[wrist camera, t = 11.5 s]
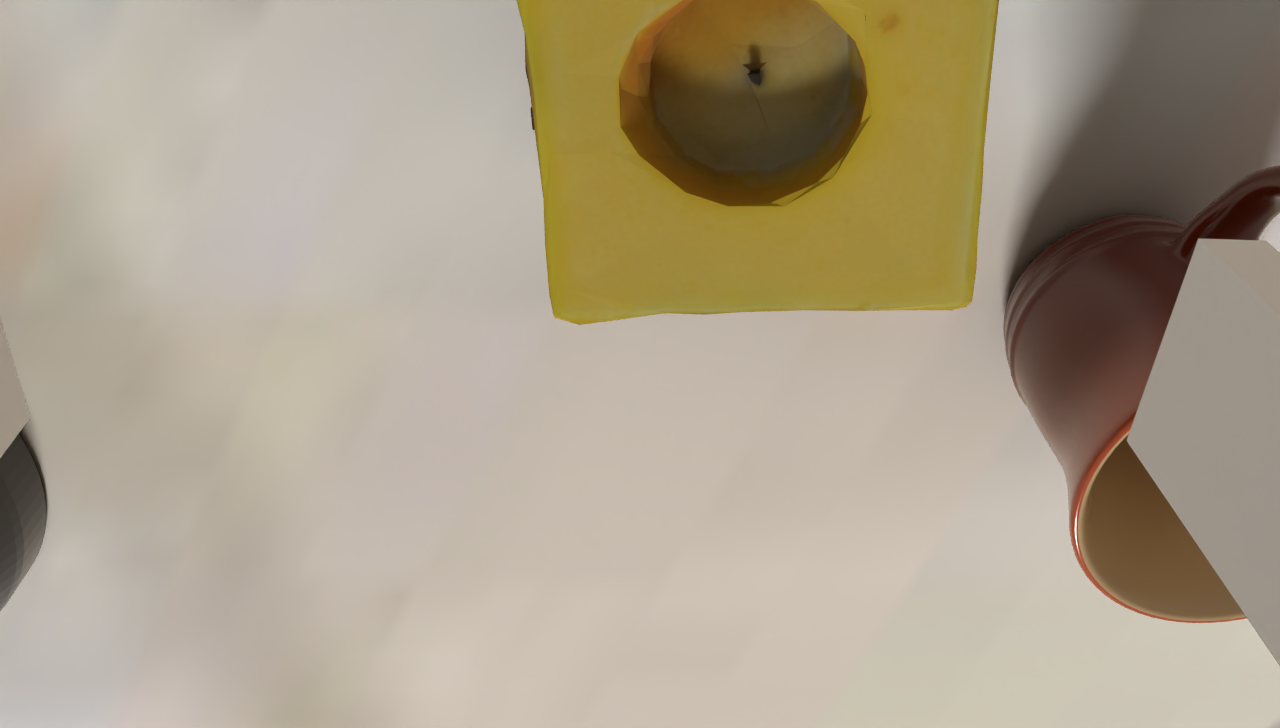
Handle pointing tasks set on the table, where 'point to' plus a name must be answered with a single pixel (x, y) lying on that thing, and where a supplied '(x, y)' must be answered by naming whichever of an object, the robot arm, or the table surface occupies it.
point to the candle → (759, 153)
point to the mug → (1121, 390)
